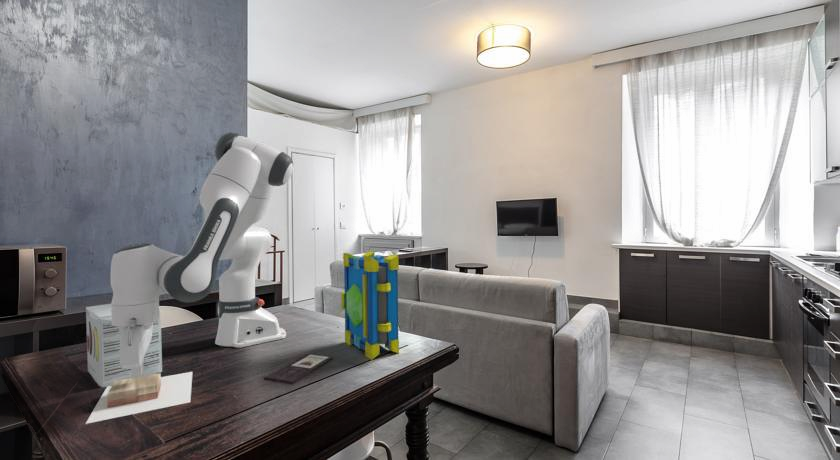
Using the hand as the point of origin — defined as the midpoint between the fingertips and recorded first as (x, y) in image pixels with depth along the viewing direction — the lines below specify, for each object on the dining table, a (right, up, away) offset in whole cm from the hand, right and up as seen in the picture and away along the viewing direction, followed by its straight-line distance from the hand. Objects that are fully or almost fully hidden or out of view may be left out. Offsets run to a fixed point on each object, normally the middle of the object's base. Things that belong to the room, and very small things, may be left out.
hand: (137, 374), depth 89 cm
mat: (+1, -6, +1) cm, 6 cm away
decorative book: (+49, -5, +34) cm, 60 cm away
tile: (+3, -4, +2) cm, 5 cm away
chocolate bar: (+32, -6, +17) cm, 37 cm away
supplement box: (-15, -6, +15) cm, 22 cm away
